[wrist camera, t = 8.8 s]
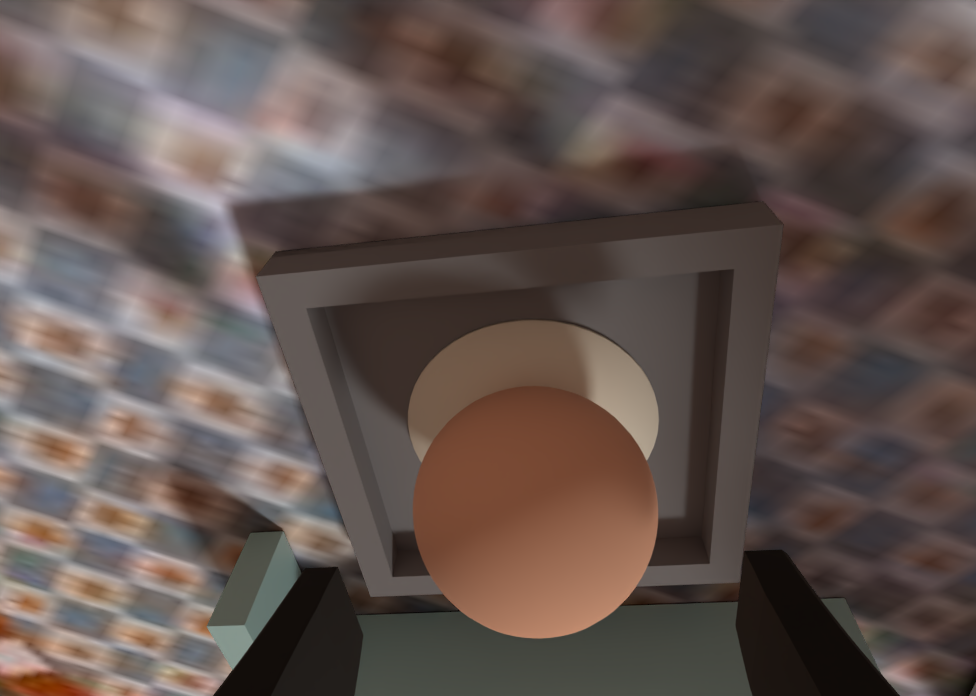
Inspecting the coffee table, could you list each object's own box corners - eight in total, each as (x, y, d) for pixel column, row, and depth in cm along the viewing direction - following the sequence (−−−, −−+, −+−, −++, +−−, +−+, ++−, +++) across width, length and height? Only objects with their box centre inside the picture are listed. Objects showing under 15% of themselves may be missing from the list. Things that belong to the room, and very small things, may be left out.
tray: (762, 201, 12) (783, 224, 11) (727, 546, 18) (739, 582, 17) (276, 251, 14) (255, 277, 13) (379, 561, 19) (370, 596, 18)
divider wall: (870, 501, 17) (932, 601, 14) (838, 618, 19) (886, 721, 17) (250, 532, 18) (206, 626, 16) (299, 636, 21) (268, 730, 19)
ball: (636, 331, 14) (690, 502, 10) (636, 497, 16) (678, 688, 12) (410, 350, 14) (365, 520, 10) (445, 508, 17) (421, 696, 13)
